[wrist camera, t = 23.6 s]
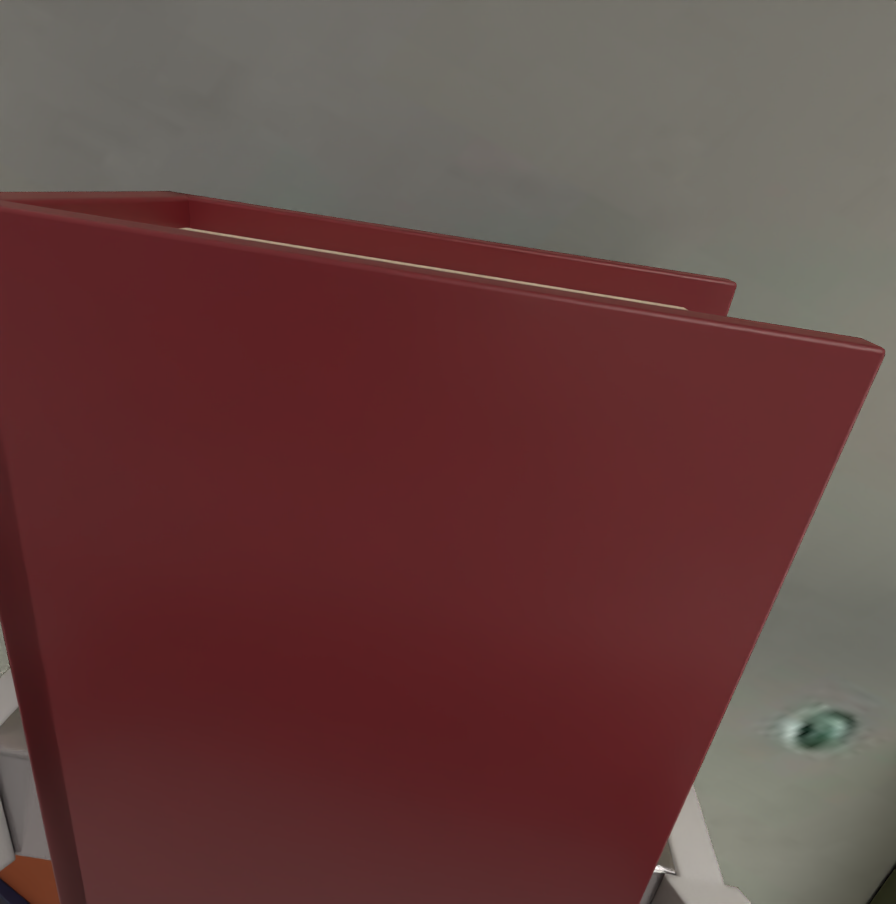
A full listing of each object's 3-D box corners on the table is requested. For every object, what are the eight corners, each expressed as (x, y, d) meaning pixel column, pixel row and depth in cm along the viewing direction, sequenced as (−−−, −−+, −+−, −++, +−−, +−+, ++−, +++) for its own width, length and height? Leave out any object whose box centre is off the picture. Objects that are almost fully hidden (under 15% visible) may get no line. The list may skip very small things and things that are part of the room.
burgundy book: (167, 190, 6) (-95, 191, 4) (729, 279, 6) (890, 348, 3) (202, 907, 12) (104, 1123, 9) (505, 974, 12) (499, 1218, 9)
